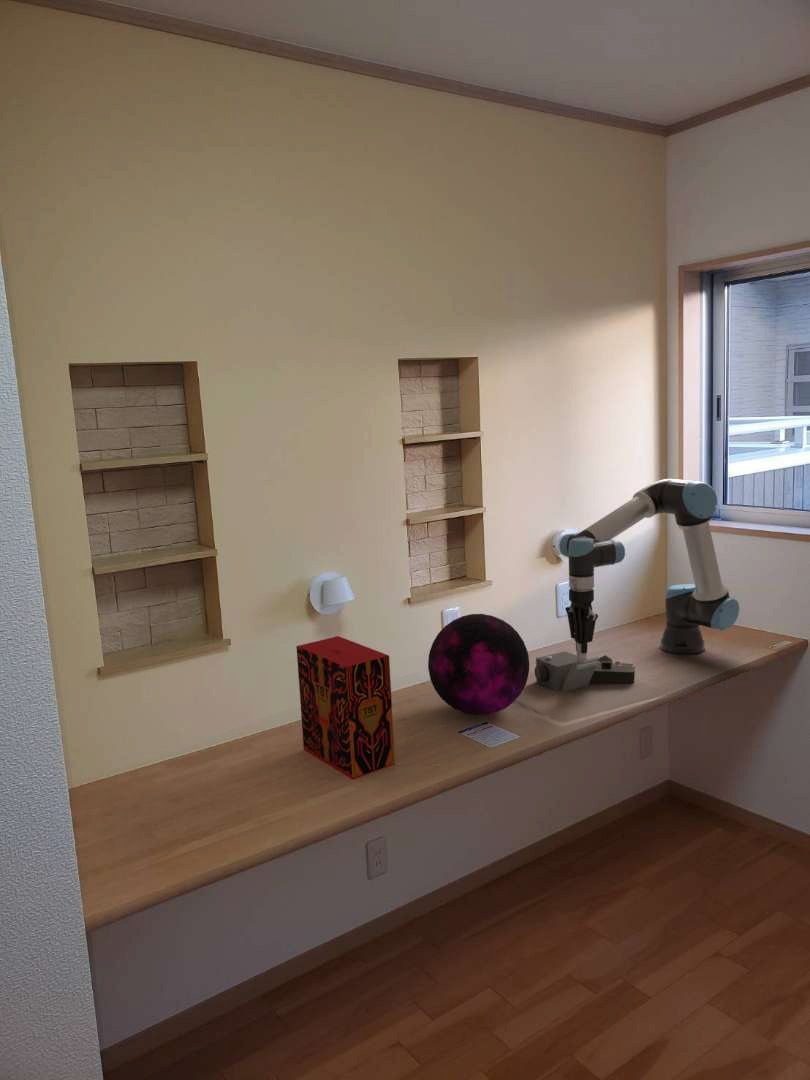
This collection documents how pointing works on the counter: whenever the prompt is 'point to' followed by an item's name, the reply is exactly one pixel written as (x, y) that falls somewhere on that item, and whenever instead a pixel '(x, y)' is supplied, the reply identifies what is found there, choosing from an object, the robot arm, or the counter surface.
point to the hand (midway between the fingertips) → (581, 662)
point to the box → (346, 705)
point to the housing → (554, 669)
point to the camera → (613, 672)
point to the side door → (580, 674)
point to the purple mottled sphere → (478, 664)
